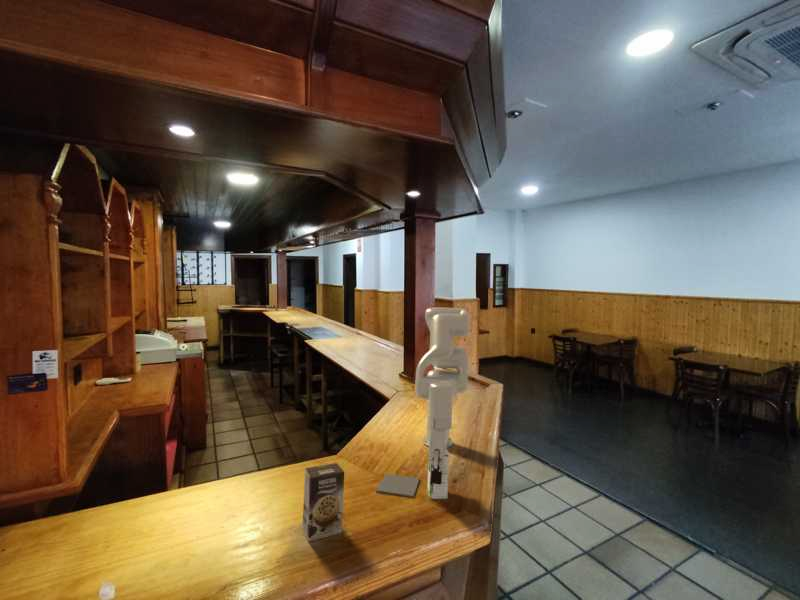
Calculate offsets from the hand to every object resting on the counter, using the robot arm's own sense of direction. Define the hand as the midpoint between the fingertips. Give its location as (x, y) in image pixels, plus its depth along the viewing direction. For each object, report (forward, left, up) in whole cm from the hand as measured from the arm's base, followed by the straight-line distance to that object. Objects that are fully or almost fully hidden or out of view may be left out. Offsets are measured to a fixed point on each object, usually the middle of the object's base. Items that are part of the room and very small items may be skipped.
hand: (437, 476), depth 119 cm
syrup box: (0, 0, -6) cm, 6 cm away
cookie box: (+27, -27, -6) cm, 39 cm away
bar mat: (-2, -13, -6) cm, 14 cm away
